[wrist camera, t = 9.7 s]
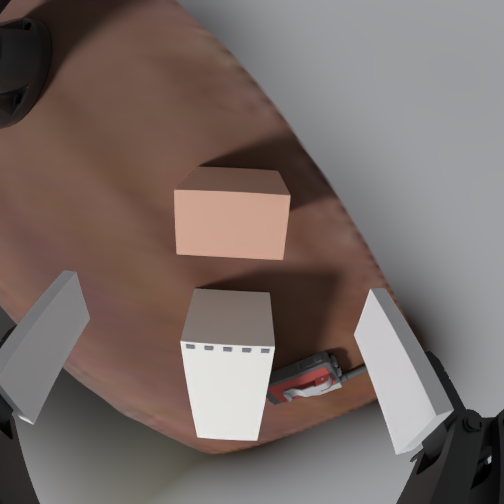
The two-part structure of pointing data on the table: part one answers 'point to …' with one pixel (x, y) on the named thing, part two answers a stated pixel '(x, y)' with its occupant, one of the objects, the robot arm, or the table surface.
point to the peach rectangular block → (232, 213)
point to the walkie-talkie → (307, 378)
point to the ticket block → (228, 361)
